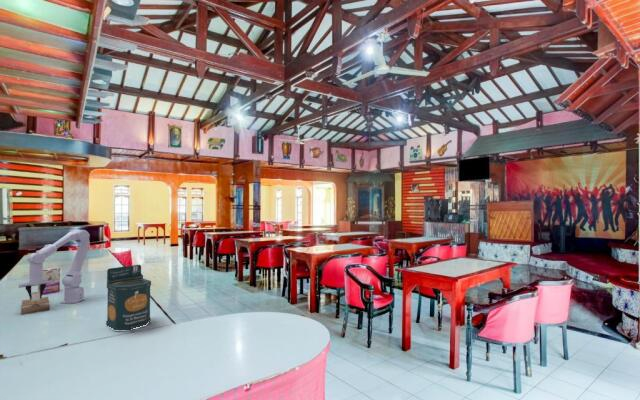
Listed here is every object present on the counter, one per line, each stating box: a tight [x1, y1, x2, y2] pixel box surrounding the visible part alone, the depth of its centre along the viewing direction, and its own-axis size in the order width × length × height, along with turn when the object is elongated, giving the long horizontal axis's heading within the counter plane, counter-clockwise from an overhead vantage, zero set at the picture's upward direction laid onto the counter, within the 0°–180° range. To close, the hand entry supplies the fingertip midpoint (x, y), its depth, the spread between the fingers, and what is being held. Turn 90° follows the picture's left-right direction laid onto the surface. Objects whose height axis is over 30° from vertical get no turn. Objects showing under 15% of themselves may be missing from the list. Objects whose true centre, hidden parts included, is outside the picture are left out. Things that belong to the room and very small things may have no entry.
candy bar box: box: [37, 267, 61, 296], centre depth 226 cm, size 11×5×16 cm, turn 143°
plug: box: [31, 291, 40, 305], centre depth 190 cm, size 4×4×6 cm
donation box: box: [105, 264, 152, 331], centre depth 166 cm, size 16×16×28 cm
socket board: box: [20, 296, 51, 316], centre depth 194 cm, size 24×12×2 cm, turn 41°
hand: (35, 298), depth 189 cm, fingers closed on plug, 4 cm apart
